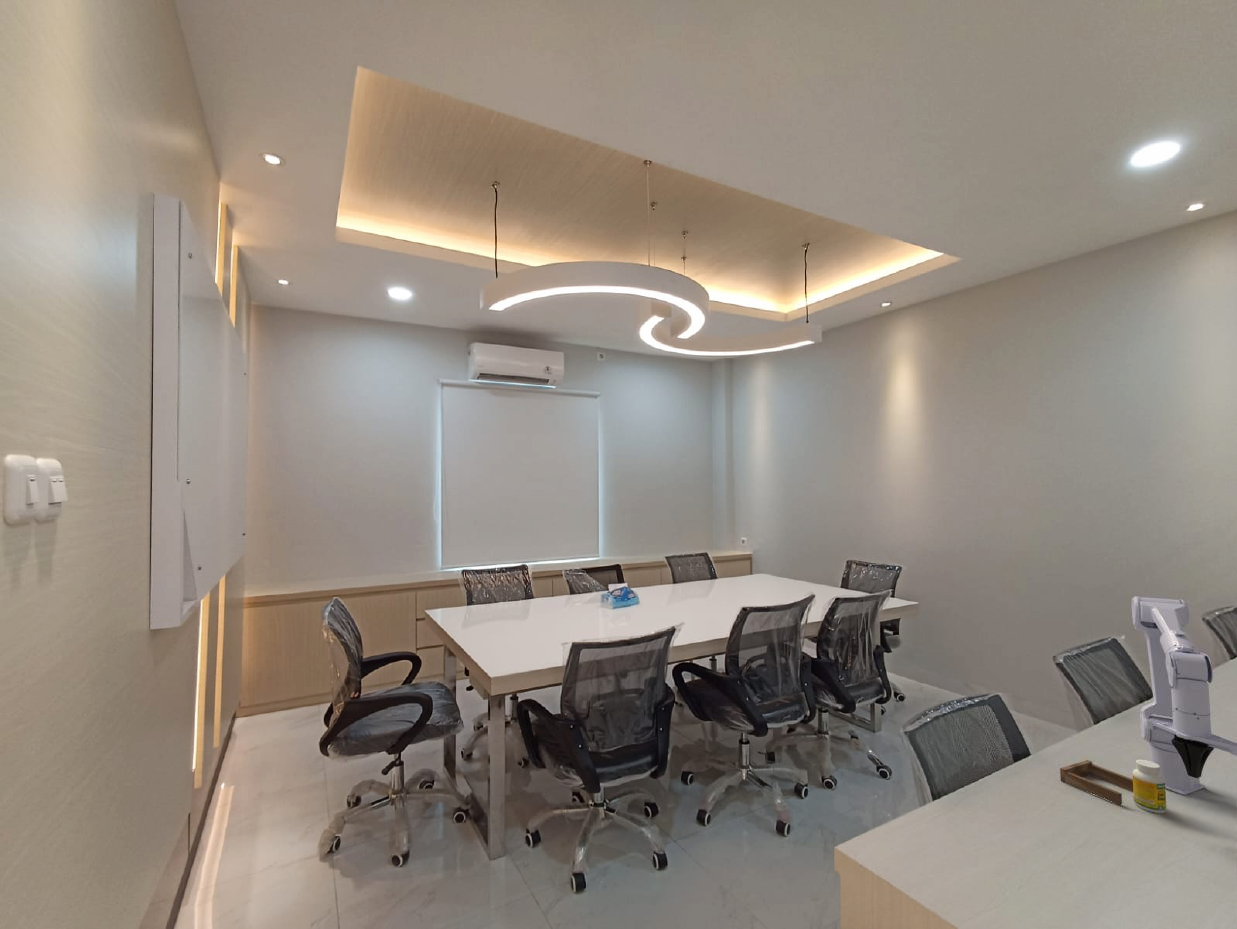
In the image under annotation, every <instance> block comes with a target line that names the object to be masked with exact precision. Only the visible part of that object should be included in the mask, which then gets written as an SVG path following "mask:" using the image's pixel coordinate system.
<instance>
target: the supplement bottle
mask: <svg viewBox="0 0 1237 929" xmlns="http://www.w3.org/2000/svg"><path fill="white" fill-rule="evenodd" d="M1135 767H1136V768H1134V769H1133V770H1132V779H1133V792H1132V793H1133V802H1134V804H1135V805H1136V806H1137V807H1138V806H1139V807H1138V808H1139V809H1142V810H1144V811H1147V812H1151V813H1153V812H1154V814H1164V813H1166V811H1167V799H1166V797H1167V795H1166V788H1165V779H1164V778H1163V776H1162V775H1160V774H1159V773H1160V766H1159V765H1158V764H1156V763H1154V762H1151V761H1150V760H1148V759H1147V760H1146V759H1136V761H1135Z"/></svg>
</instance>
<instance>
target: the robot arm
mask: <svg viewBox="0 0 1237 929" xmlns="http://www.w3.org/2000/svg"><path fill="white" fill-rule="evenodd" d="M1130 605H1131V616H1132V623H1133V626H1134V629H1135V630H1136V631H1138V632H1140V633H1142V634H1143V636H1144V638H1145V641H1146V645H1147V654H1148V655H1147V656H1148V662H1149V663H1148V664H1149V670H1150V671H1149V672H1150V679H1151V681H1150V682H1151V689H1152V690H1151V691H1152V699H1153V701H1152V702H1150V703H1148V704H1146V705H1143V706H1142V707H1141V709H1140V710H1139V716H1140V717H1139V726H1140V727H1139V728H1140V732H1141V737H1142V739H1143V740H1144V741H1145V742H1148V744H1149V761H1151V762H1154V763H1156V764H1158V765H1159V766H1160V773H1159V774H1160V775H1162V776H1163V778H1164V779H1165V790H1169V791H1172V792H1175V793H1178V794H1180V795H1183V796H1186V795H1189V794H1192V793H1194V792H1197V791H1199V790H1201V789H1204V788H1206V785H1205V784H1203V783H1201V781H1200V780H1201V779H1200V778H1201V777H1202V775H1203V771H1204V766H1205V764H1206V761H1207V759H1208V758H1209V756H1210V755H1211V753H1213V751H1214V750H1215V749H1217V750H1220V751H1224V752H1227V753H1230V754H1231V755H1233V756H1235V757H1237V742H1235V741H1231V740H1229V739H1226V738H1224V737H1221V736H1219V735H1215V733H1214V734H1213V733H1212V721H1211V703H1210V702H1211V701H1210V685H1209V684H1211V683H1212V682H1213V679H1214V671H1213V670H1214V669H1213V664H1212V662H1211V659H1210V656H1209V655H1208V654H1206V653H1205V652H1202V651H1200V649H1199V647H1198V644H1196V641H1195V638H1194V637H1193V636H1192V634H1189V633H1188V632H1186V629H1187V627H1188V624H1189V623H1190V609H1189V606H1188V603H1187V602H1186V601H1185V600H1184V599H1171V598H1158V597H1157V598H1156V597H1154V598H1153V597H1142V596H1141V597H1140V596H1138V595H1137V596H1136V595H1135V596H1134V597H1132V598H1131V604H1130ZM1161 716H1165V717H1161ZM1168 717H1170V718H1168Z"/></svg>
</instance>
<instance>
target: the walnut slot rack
mask: <svg viewBox="0 0 1237 929" xmlns="http://www.w3.org/2000/svg"><path fill="white" fill-rule="evenodd" d="M1059 774H1060V776H1059V777H1060V781H1061V782H1062V783H1065V784H1067V785H1069V784H1070V786H1072V787H1074V788H1077V789H1079V790H1081V791H1083V792H1086V791H1088V792H1090V793H1089V794H1091V793H1092V794H1091V795H1093V794H1095V795H1097V796H1096V797H1098V796H1099V797H1098V798H1100V797H1102V798H1105V799H1107V800H1109V801H1112V802H1114V803H1116V804H1115V805H1117V804H1118V805H1117V806H1119V805H1120V806H1122V805H1123V798H1122V797H1123V795H1122V793H1121V792H1119V791H1117V790H1114V789H1111V788H1110V787H1106V786H1104V785H1102V784H1099V783H1097V782H1094V781H1092V780H1090V779H1087V778H1085V777H1087V776H1093V777H1095V778H1097V777H1098V778H1097V779H1100V780H1102V781H1105V782H1106V783H1110V784H1113V785H1115V786H1118V787H1120V788H1123V789H1125V790H1128V791H1130V792H1132V793H1133V778H1130V777H1128V776H1125V775H1123V774H1120V773H1117V772H1115V771H1112V770H1109V769H1107V768H1104V767H1102V766H1100V765H1096V764H1094V763H1093V761H1092V760H1089V759H1086V760H1083V761H1080V762H1075V763H1073V764H1070V765H1066V766H1063V767H1060V768H1059ZM1088 792H1087V793H1088ZM1095 795H1094V796H1095ZM1102 798H1101V799H1102ZM1105 799H1104V800H1105ZM1107 800H1106V801H1107ZM1109 801H1108V802H1109ZM1112 802H1111V803H1112ZM1114 803H1113V804H1114ZM1121 804H1122V805H1121Z"/></svg>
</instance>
